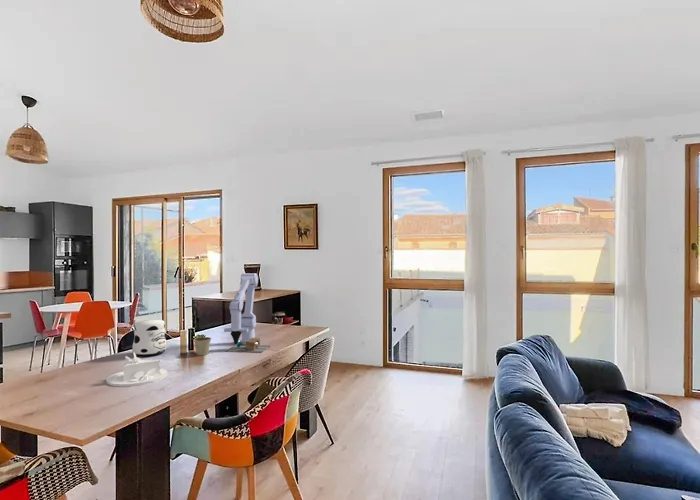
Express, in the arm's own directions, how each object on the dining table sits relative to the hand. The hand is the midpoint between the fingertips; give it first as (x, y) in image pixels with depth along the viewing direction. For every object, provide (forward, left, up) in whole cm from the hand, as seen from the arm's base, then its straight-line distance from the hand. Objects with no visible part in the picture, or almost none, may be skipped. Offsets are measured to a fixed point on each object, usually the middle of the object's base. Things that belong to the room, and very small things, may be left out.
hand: (236, 344), depth 243 cm
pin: (0, +7, -2) cm, 7 cm away
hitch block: (0, +8, -3) cm, 8 cm away
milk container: (+18, -43, -3) cm, 47 cm away
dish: (+59, -22, -3) cm, 63 cm away
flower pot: (+15, -13, -3) cm, 20 cm away
